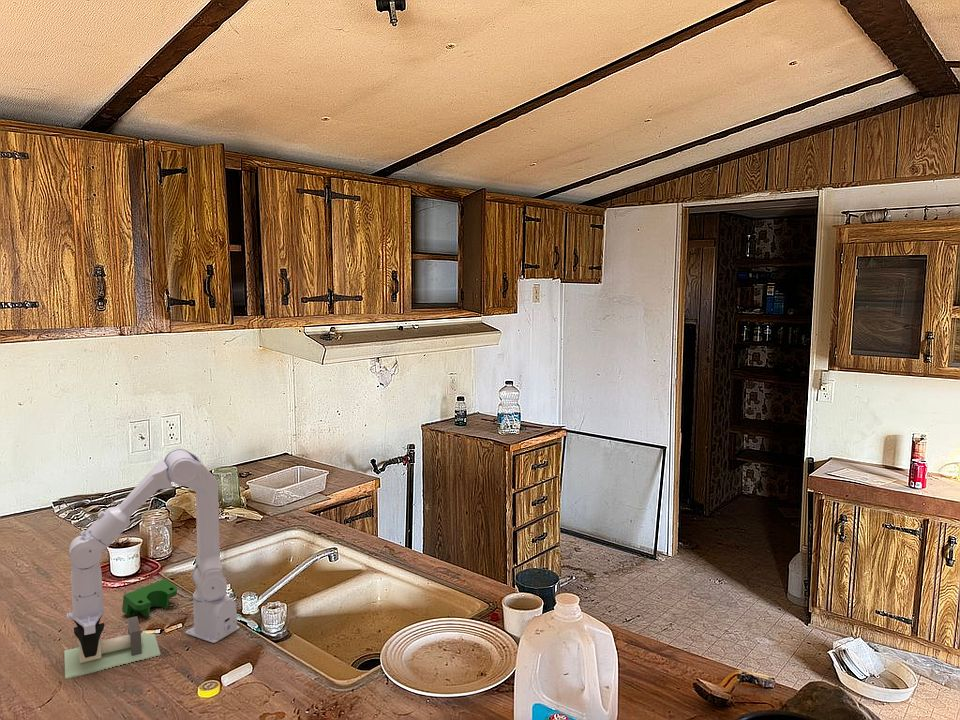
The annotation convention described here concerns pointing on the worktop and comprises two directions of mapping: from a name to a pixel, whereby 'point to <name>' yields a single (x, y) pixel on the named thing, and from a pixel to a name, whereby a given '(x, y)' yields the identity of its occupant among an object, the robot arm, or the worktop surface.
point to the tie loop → (134, 635)
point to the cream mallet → (108, 647)
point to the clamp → (148, 598)
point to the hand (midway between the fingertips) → (90, 650)
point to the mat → (108, 658)
